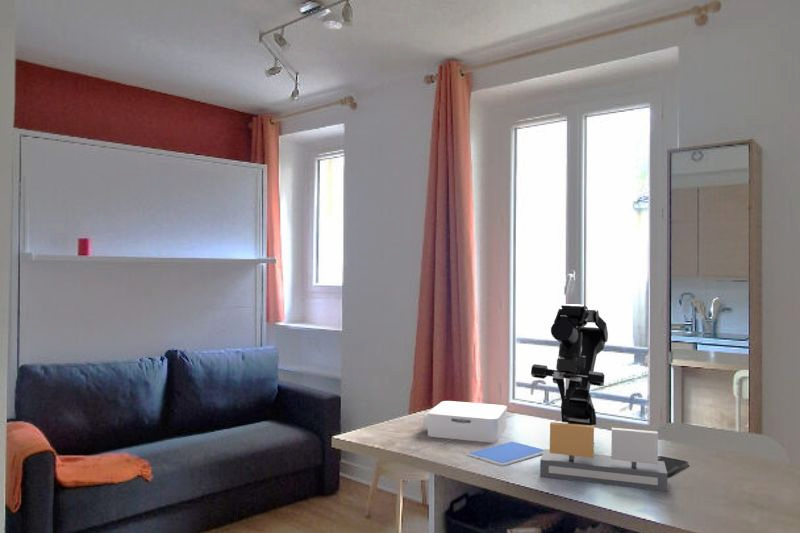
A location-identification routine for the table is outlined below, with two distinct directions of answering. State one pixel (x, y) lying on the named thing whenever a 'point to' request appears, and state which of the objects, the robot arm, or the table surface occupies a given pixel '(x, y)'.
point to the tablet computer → (506, 453)
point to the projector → (466, 421)
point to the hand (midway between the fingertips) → (564, 407)
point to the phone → (673, 465)
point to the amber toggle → (572, 439)
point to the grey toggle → (634, 446)
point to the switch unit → (604, 471)
